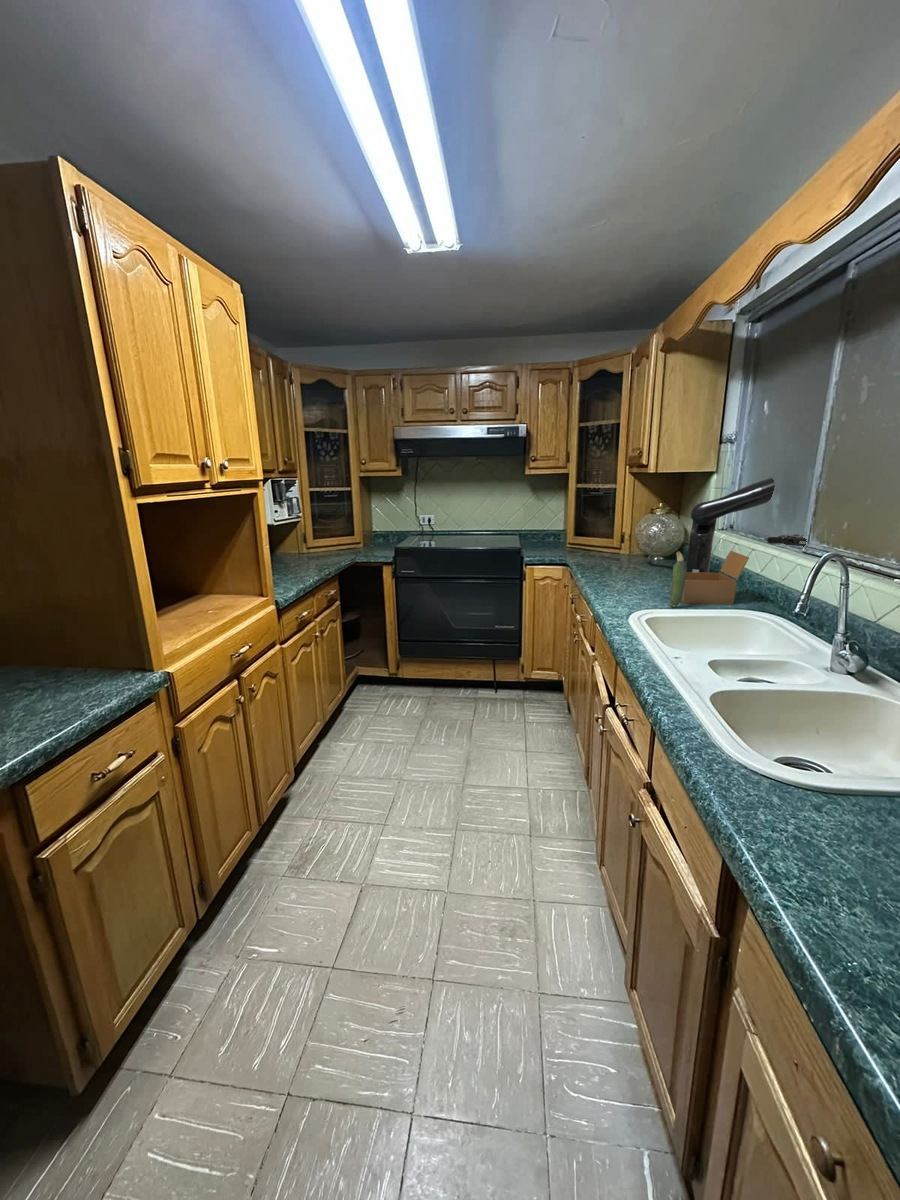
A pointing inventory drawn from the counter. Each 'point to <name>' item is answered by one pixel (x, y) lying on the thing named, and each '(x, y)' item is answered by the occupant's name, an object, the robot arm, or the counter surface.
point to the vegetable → (678, 580)
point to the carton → (708, 588)
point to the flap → (734, 564)
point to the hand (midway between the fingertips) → (768, 540)
